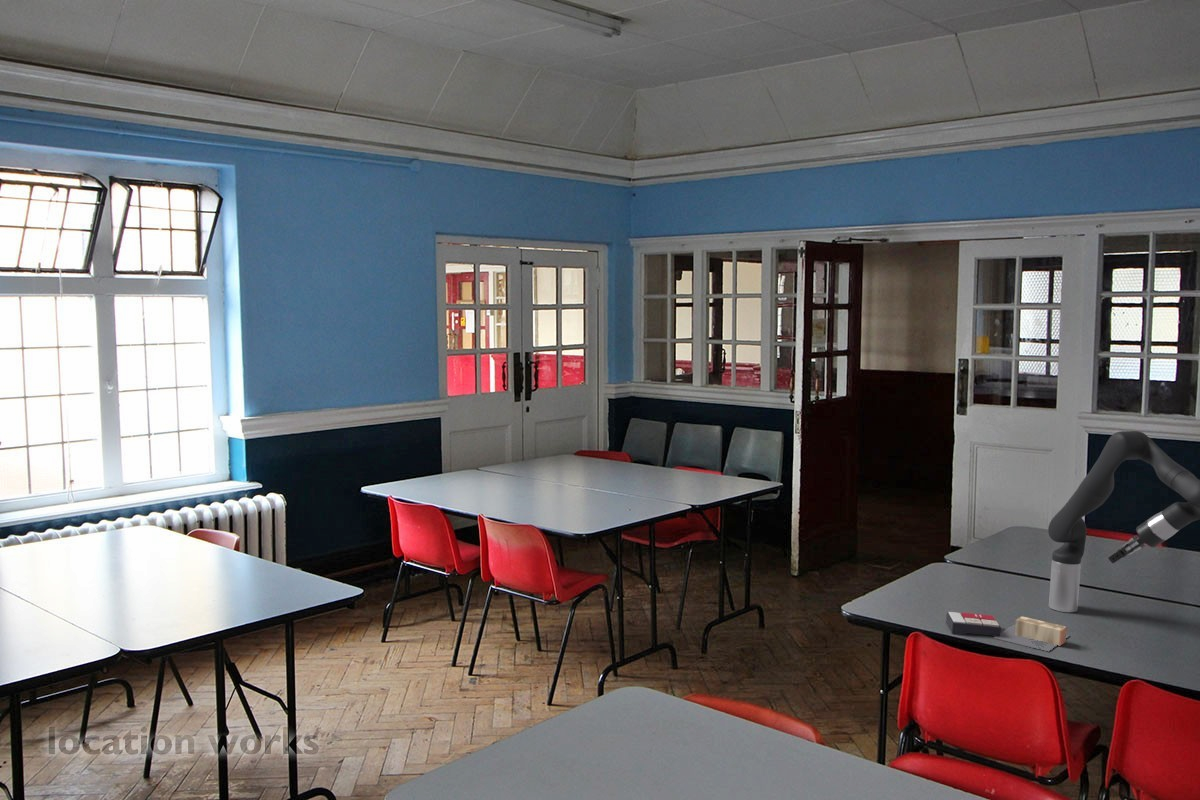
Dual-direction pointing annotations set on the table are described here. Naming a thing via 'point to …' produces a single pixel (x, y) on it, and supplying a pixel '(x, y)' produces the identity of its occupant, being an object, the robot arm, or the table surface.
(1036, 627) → the tall block
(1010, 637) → the mat
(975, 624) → the red white grey box
